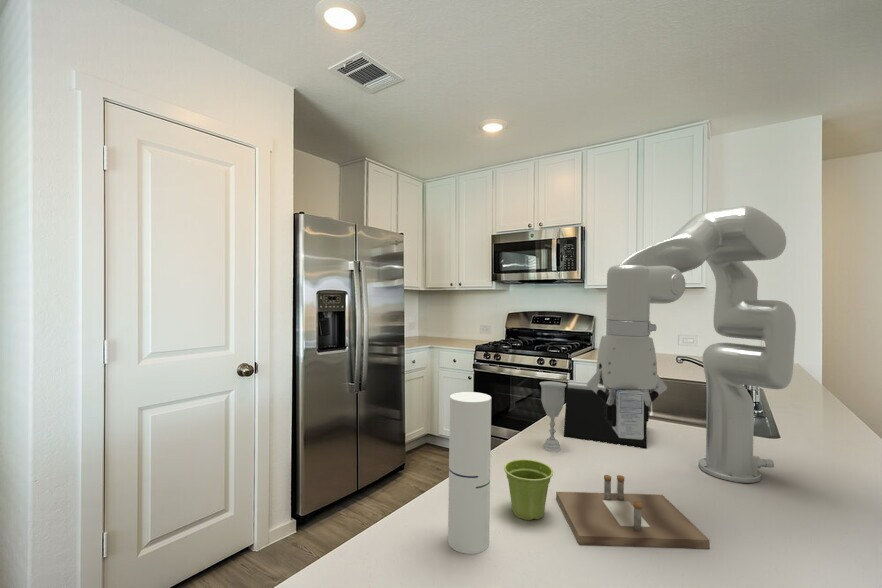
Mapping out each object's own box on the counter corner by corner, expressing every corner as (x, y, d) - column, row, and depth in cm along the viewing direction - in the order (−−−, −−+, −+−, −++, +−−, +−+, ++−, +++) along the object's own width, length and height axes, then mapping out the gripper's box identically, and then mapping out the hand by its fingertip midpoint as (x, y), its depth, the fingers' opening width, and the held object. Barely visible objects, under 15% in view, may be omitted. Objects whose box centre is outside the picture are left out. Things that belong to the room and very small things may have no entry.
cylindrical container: (446, 529, 75) (447, 392, 75) (484, 528, 76) (486, 391, 76) (450, 554, 68) (452, 402, 68) (493, 553, 69) (495, 402, 69)
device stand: (572, 418, 146) (572, 375, 146) (643, 427, 137) (643, 381, 137) (563, 437, 126) (564, 388, 126) (646, 450, 117) (647, 396, 117)
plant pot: (543, 531, 75) (544, 484, 75) (495, 516, 80) (496, 471, 80) (558, 509, 83) (559, 466, 83) (514, 496, 88) (514, 455, 88)
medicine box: (644, 440, 75) (645, 392, 75) (617, 438, 76) (618, 391, 76) (632, 427, 83) (633, 383, 83) (609, 425, 84) (610, 382, 84)
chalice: (536, 450, 114) (537, 385, 114) (540, 442, 121) (541, 380, 121) (564, 454, 112) (565, 387, 112) (566, 446, 118) (567, 382, 118)
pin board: (662, 501, 87) (662, 472, 87) (709, 548, 71) (709, 512, 71) (556, 498, 87) (556, 469, 87) (579, 544, 71) (579, 509, 71)
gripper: (662, 328, 83) (661, 420, 83) (576, 327, 83) (575, 418, 83) (683, 332, 75) (682, 432, 75) (588, 330, 76) (587, 430, 76)
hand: (626, 423), depth 79 cm, fingers closed on medicine box, 5 cm apart
